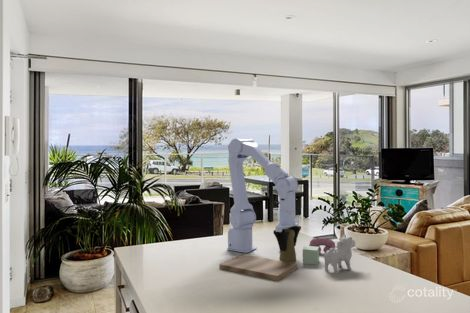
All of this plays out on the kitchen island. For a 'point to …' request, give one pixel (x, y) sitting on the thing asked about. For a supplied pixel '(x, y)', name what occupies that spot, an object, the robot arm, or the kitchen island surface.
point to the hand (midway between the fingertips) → (287, 248)
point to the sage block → (310, 255)
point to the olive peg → (289, 248)
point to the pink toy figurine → (322, 243)
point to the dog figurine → (340, 253)
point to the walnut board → (259, 266)
